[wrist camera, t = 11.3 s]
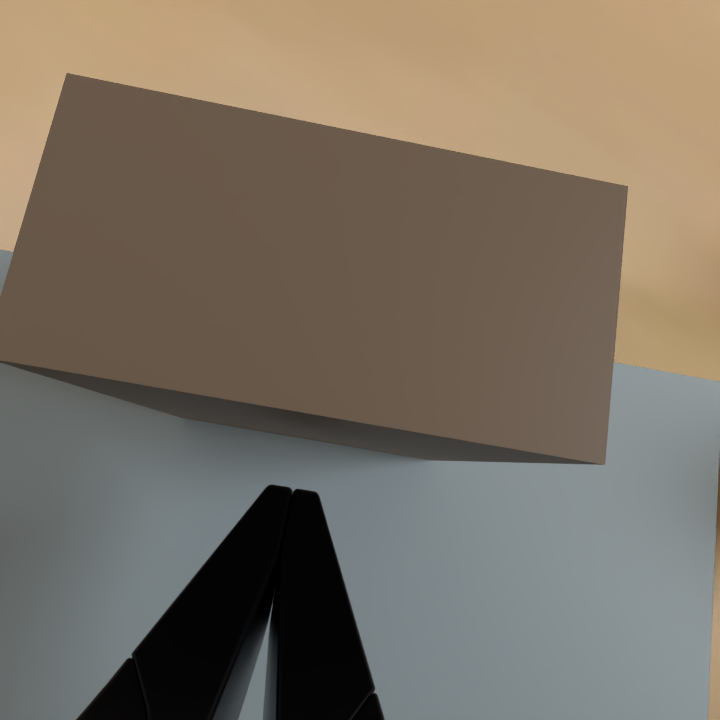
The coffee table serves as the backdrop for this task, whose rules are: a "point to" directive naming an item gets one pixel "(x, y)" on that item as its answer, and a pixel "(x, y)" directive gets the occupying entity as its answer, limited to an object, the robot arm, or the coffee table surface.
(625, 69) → the coffee table surface
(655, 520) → the grey plate with hole
